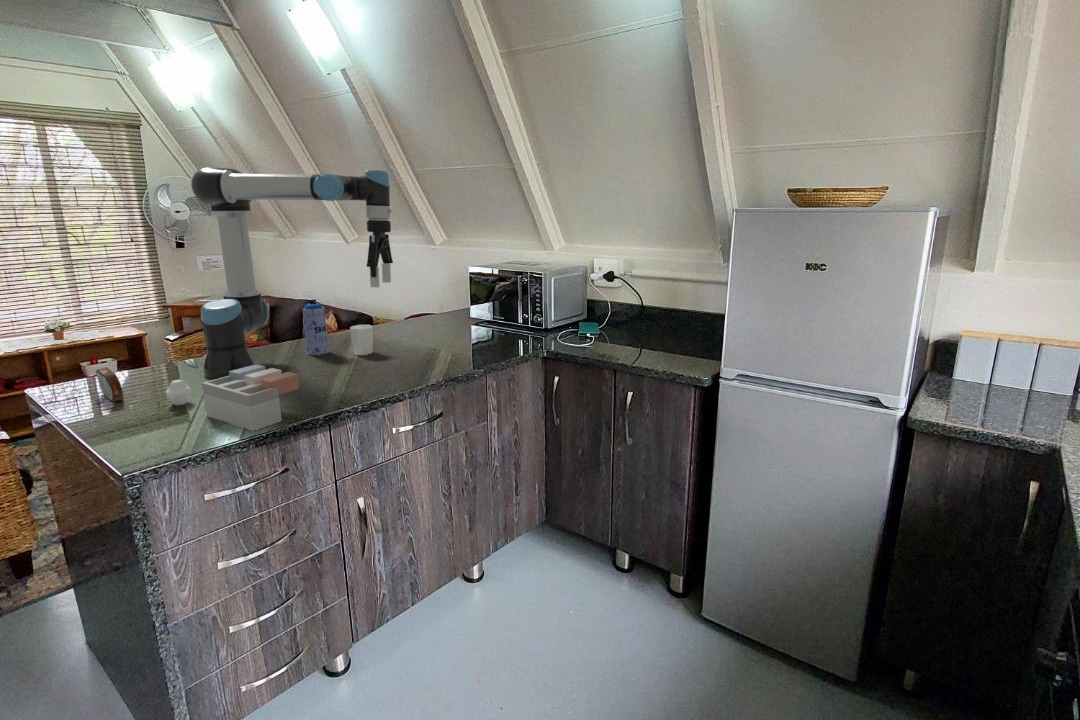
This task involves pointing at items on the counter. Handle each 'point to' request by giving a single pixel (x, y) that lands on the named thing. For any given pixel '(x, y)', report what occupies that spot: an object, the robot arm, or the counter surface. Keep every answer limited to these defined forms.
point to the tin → (109, 384)
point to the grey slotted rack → (241, 403)
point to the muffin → (178, 392)
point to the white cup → (362, 339)
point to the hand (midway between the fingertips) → (381, 284)
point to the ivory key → (261, 376)
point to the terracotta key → (281, 382)
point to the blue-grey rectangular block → (245, 372)
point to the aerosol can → (315, 328)
